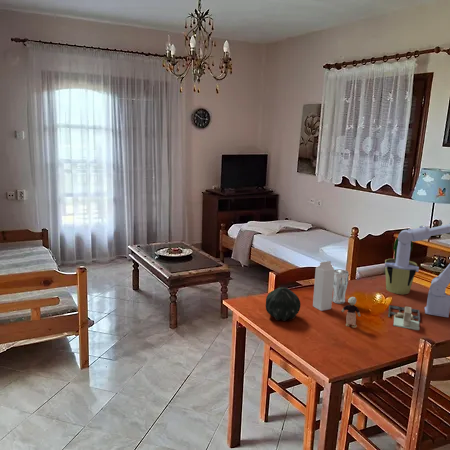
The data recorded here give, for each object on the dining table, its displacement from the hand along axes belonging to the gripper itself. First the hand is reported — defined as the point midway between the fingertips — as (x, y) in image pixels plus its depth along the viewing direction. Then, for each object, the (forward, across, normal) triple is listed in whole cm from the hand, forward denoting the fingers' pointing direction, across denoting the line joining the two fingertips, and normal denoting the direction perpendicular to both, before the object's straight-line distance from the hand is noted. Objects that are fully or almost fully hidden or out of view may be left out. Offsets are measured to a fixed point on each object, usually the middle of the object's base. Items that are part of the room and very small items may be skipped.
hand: (399, 283), depth 204 cm
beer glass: (+11, -26, -8) cm, 29 cm away
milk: (+11, -32, -19) cm, 39 cm away
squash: (+11, -46, -37) cm, 60 cm away
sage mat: (+10, +4, -21) cm, 24 cm away
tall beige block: (+10, +4, -21) cm, 24 cm away
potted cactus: (+11, 0, +21) cm, 24 cm away
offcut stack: (+11, +3, -15) cm, 19 cm away
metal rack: (+10, +3, -11) cm, 15 cm away
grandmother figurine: (+11, -18, -33) cm, 39 cm away
